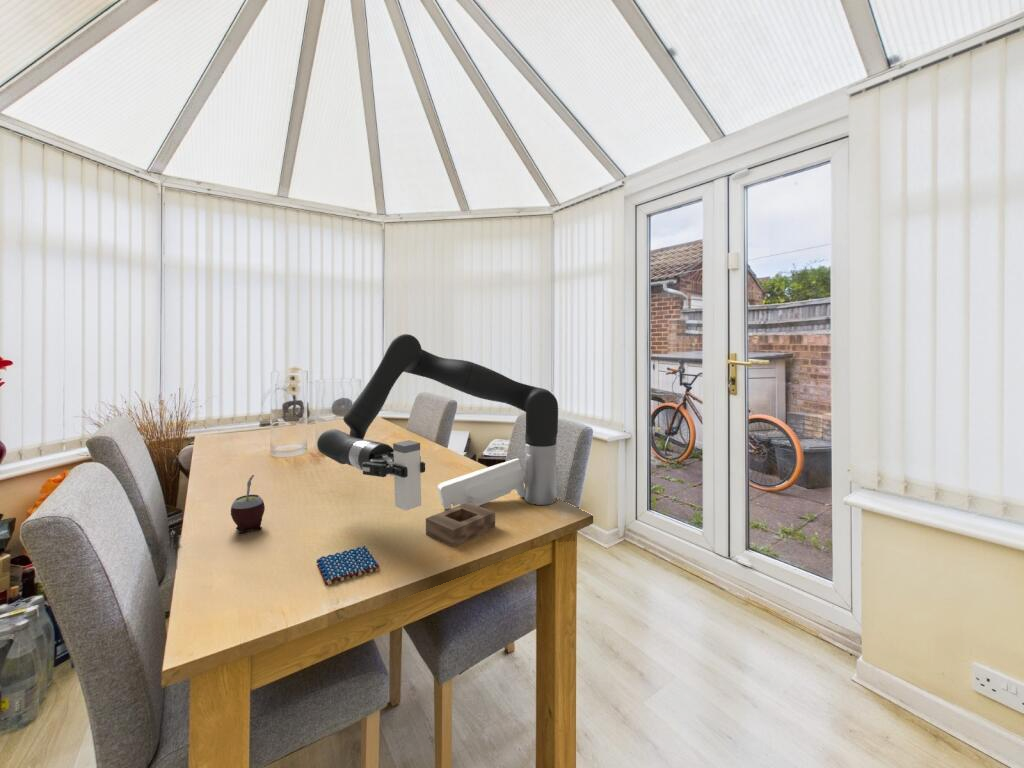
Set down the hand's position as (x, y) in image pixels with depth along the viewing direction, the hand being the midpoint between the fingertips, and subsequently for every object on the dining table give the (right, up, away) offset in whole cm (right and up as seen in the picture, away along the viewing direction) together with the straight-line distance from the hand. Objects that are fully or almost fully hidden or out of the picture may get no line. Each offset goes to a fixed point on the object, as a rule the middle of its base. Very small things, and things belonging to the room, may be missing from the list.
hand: (415, 470), depth 89 cm
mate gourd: (-44, -18, +14) cm, 50 cm away
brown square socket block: (+8, -18, +14) cm, 24 cm away
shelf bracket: (+13, -17, +33) cm, 39 cm away
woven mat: (-13, -20, -3) cm, 24 cm away
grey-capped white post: (-2, -8, +2) cm, 9 cm away
